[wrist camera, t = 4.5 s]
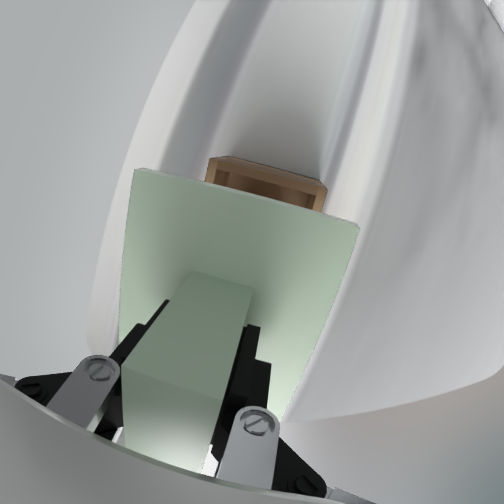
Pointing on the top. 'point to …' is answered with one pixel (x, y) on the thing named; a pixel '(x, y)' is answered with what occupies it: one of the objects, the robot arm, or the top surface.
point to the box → (266, 182)
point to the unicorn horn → (497, 10)
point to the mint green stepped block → (217, 303)
